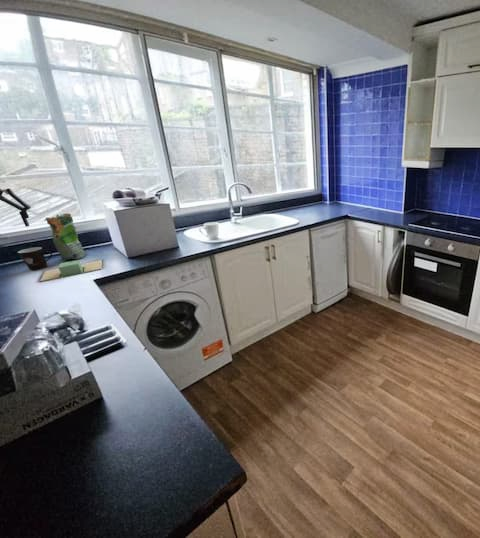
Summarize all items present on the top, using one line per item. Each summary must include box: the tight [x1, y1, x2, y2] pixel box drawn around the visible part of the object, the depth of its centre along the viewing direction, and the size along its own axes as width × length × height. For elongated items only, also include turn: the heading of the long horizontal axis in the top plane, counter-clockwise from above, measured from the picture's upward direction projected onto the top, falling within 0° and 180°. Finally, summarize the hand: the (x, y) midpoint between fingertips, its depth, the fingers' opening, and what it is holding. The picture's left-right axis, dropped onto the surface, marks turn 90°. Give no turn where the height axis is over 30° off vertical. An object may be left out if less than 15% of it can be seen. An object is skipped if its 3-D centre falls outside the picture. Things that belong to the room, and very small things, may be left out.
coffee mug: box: [17, 246, 53, 271], centre depth 151 cm, size 12×9×10 cm
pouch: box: [44, 212, 87, 261], centre depth 161 cm, size 11×12×25 cm
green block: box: [58, 259, 84, 279], centre depth 144 cm, size 7×7×6 cm
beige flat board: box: [39, 259, 103, 283], centre depth 147 cm, size 22×16×1 cm
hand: (5, 228), depth 128 cm, fingers open, 13 cm apart
